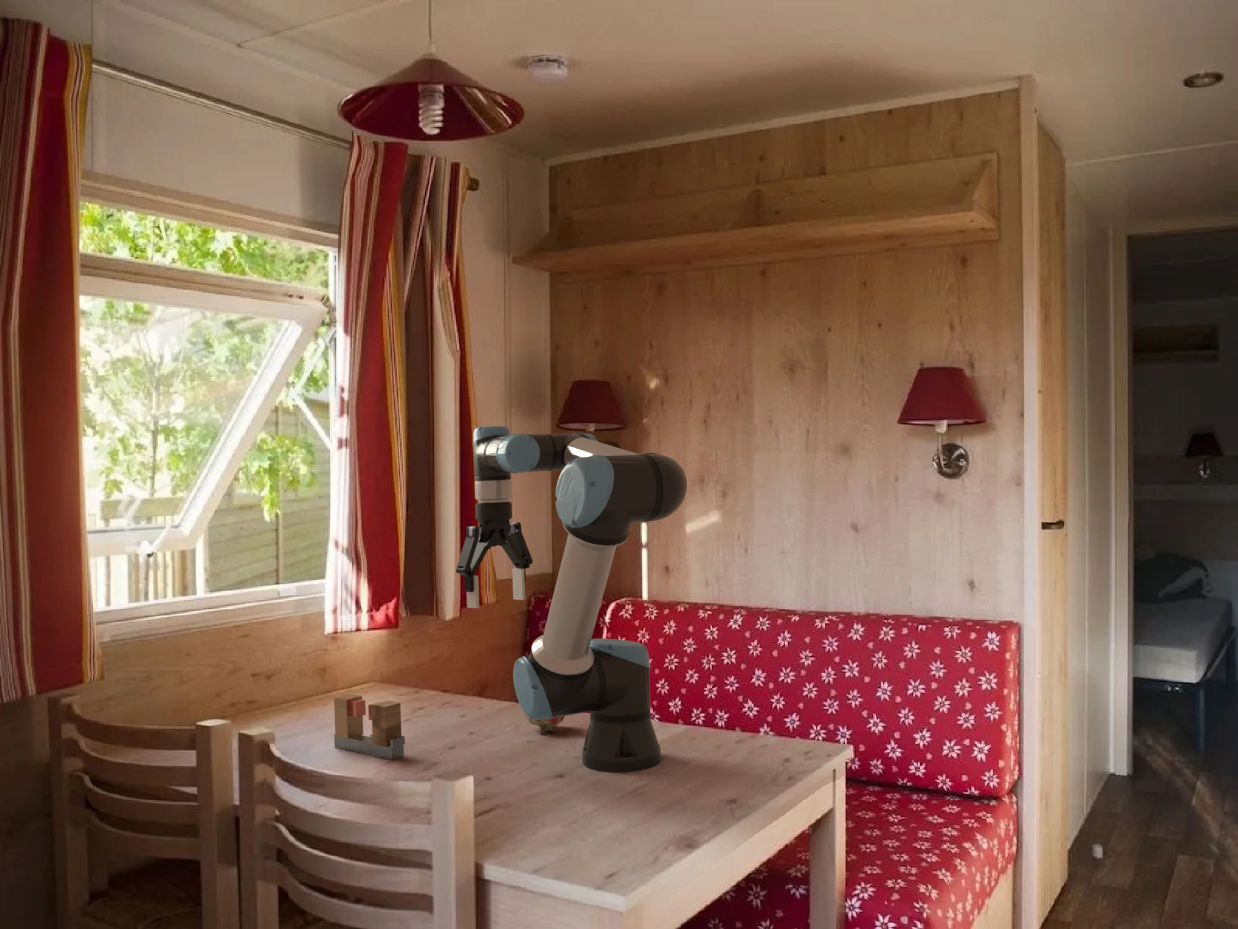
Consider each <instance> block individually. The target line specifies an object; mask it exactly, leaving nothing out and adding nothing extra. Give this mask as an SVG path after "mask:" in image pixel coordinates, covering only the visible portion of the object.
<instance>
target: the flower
mask: <svg viewBox="0 0 1238 929" xmlns="http://www.w3.org/2000/svg"><path fill="white" fill-rule="evenodd" d="M524 717H525V718H527V720H528V721H529V722H530V724H532V725H533V726H536V727H537V726H538V728H540V731H539V734H540V735H544V732H545V731H546V730H548V731H551V732H553V731H560V729H556V728H557V727H558V725H559V724H561V723H562V722H564V718H565V717H566V716H563V717H557V718H552V719H541V720H534V719H531V718H529V717H528V716H527V715H526V714H525V716H524Z"/></svg>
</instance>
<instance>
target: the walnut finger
mask: <svg viewBox="0 0 1238 929" xmlns="http://www.w3.org/2000/svg"><path fill="white" fill-rule="evenodd" d="M367 707H368V710H367V711H368V720H369V721H371V726H372V728H371V730H372V731H371V732H372V734H373V744H374V745H378V746H383V747H388V746H390V739H392V738H395V737H399V736H402V716H401V712H402V711H401V710H402V709H401V702H399V701H393V700H387V699H386V700H384V701H379V702H375V703H370V704H368V705H367ZM372 734H371V735H372Z"/></svg>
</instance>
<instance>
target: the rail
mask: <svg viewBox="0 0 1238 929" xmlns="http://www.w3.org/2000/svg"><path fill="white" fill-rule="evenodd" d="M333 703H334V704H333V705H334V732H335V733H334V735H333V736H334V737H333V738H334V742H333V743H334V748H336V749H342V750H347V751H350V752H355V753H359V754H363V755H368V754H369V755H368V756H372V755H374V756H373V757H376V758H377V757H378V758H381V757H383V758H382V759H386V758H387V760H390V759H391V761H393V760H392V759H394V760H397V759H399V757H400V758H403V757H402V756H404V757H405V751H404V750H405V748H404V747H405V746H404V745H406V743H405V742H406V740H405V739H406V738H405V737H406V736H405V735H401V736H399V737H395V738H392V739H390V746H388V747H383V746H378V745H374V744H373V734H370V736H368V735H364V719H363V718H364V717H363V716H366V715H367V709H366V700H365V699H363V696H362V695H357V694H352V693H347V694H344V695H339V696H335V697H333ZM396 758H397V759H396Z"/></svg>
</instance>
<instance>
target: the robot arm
mask: <svg viewBox="0 0 1238 929" xmlns="http://www.w3.org/2000/svg"><path fill="white" fill-rule="evenodd" d="M509 429H510V428H508V427H507V426H503V425H502V426H501V425H499V426H498V425H497V426H495V425H493V426H491V425H490V426H477V427H475V428H474V430H473V441H472V449H473V451H472V452H473V471H474V498H475V500H476V501H478V502H476V503H475V520H476V521H477V522H478V526H473V525H472V526H471V525H469V526H466V533H465V534H466V535H465V540H464V543H463V547H462V550H461V552H460V556H459V559H458V562H457V565H456V568H455V572H456V574H459V575H460V576H463V577H464V592H465V593H466V608H469V609H480V591H479V590H480V588H479V575H476V573H477V571H478V569H479V568H480V566H481V564H482V562H483V560H484V558H485V556H486V554H487V552H488V550H490V549H491V548H492V547H497V546H499V547H502V549H503V550H504V552H505V554H506V555H507V557H508V558H509V559H510V560H511V561H510V562H512V564H513V566H514V568H512V569H511V571H512V597H513V598H512V600H517V601H518V600H519V601H525V600H526V591H525V589H526V588H525V586H526V582H527V578H526V576H527V575H526V574H527V572H526V571H527V570H526V569H530V566H531V565H532V564H533V562H534V561H533V558H532V555H531V553H530V550H529V548H528V544H527V543H526V539H525V537H524V535H523V531H522V530H523V529H522V523H521V522H518V521H517V522H516V521H515V522H514V521H510V520H512V518H513V503H512V502H511V501H510V500H511V499H512V497H513V496H512V495H513V494H512V476H511V474H517V473H520V474H522V473H523V474H524V473H527V472H528V473H529V472H531V473H532V472H534V473H535V472H550V471H552V472H553V471H555V472H557V471H558V472H559V471H561V473H560V474H559V477H558V480H557V484H556V487H555V494H554V495H555V497H556V501H555V509H556V513H557V516H558V517H559V520H560V521H561V522H562V525H563V528H564V530H565V531H566V532H567V533H568V535H567V538H566V542H565V547H564V551H563V555H562V559H561V563H560V566H559V571H558V575H557V578H556V583H555V586H554V587H555V588H554V591H553V595H552V598H551V603H550V607H549V611H548V616H547V619H546V622H545V628H544V632H543V634H542V635H540V636H539V637H537V638H536V639H535V640H534V641H533V643H532V645H531V650H530V654H529V655H528V656H526V655H525V656H524V655H523V656H522V657H519V658H517V659H516V660H515V662H514V665H513V671H512V674H513V675H512V677H513V678H512V679H513V686H514V691H515V695H516V698H517V701H518V704H519V706H520V708H521V711H522V712H523V714H525V716H526V715H527V716H526V717H527V718H529V719H530V718H531V719H534V720H541V719H552V718H557V717H563V716H565V717H567V716H573V715H578V714H585V713H589V724H588V725H589V726H588V728H587V732H586V735H585V740H584V744H583V747H582V750H581V753H582V754H581V758H582V759H581V763H582V764H583V765H584V766H585V767H588V768H589V769H593V770H597V771H603V772H604V771H605V772H631V771H632V772H633V771H639V770H640V771H641V770H644V769H649V768H652V767H654V766H656V765H658V764H659V763H661V761H662V752H661V751H662V750H661V746H660V744H659V742H658V738H657V735H656V731H655V728H654V724H653V723H652V718H651V685H650V684H651V683H650V682H651V681H650V680H651V678H650V669H651V665H650V664H651V663H650V657H649V650H648V648H647V647H646V646H645V645H644V644H642V643H641V642H637V641H631V640H626V639H624V640H623V639H618V638H617V639H616V638H615V639H613V638H592V637H593V634H594V630H595V628H596V627H595V626H596V622H597V619H598V616H599V611H600V609H601V604H602V602H603V598H604V593H605V590H606V586H607V583H608V580H609V576H610V571H611V568H612V564H613V561H614V557H615V553H616V549H617V547H618V546H621V545H623V544H624V543H625V542H627V541H628V539H629V537H630V536H629V535H630V532H631V528H632V525H633V524H634V523H648V522H649V523H650V522H656V521H661V520H663V519H665V518H668V517H669V516H671V515H673V514H674V513H675V512H676V511H678V510H679V508H680V507H681V505H682V504H683V502H684V500H685V499H686V495H687V490H688V480H687V476H686V473H685V471H684V469H683V467H682V465H681V464H680V463H678V462H677V461H676V460H675V459H673V457H672V458H671V457H670V456H667V455H664V454H659V453H655V452H644V453H641V454H639V453H636V452H633V451H629V450H627V449H623V448H620V447H616V446H613V445H610V444H607V443H604V442H603V443H602V442H599V441H598V439H597V437H596V436H595V435H593V434H592V433H585V432H584V433H583V432H573V433H536V434H535V433H532V434H531V433H530V434H528V433H527V434H525V433H511V434H510V430H509Z"/></svg>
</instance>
